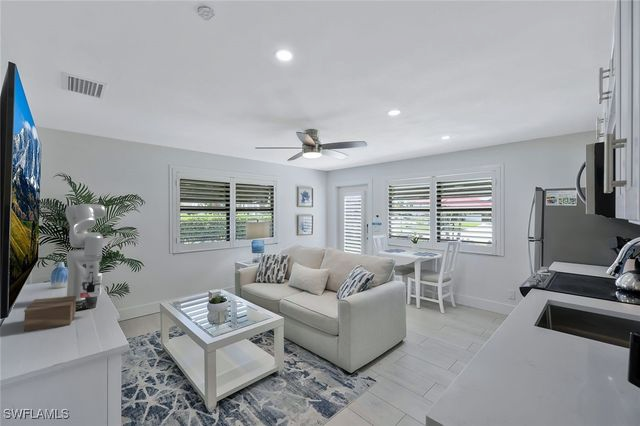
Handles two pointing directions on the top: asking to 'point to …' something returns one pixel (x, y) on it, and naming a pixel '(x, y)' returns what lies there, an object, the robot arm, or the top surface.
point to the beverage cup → (91, 302)
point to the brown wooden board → (51, 303)
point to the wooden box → (49, 318)
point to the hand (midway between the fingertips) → (91, 290)
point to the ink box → (96, 290)
